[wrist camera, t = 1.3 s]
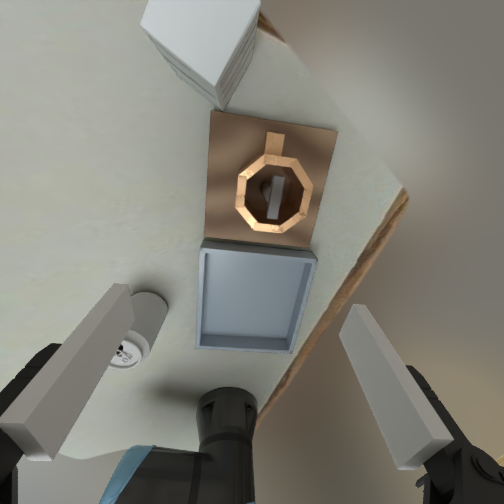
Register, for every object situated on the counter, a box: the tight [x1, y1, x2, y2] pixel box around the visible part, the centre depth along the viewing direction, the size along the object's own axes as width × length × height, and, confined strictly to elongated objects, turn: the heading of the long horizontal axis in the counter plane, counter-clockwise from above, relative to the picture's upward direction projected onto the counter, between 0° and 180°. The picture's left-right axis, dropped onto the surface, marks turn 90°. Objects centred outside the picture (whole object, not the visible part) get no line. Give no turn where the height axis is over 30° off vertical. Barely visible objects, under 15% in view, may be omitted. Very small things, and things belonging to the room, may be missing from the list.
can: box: [108, 292, 168, 370], centre depth 37 cm, size 8×8×12 cm
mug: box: [235, 132, 314, 233], centre depth 30 cm, size 12×9×8 cm
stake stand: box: [204, 110, 338, 248], centre depth 30 cm, size 18×18×11 cm
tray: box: [195, 240, 318, 354], centre depth 42 cm, size 22×20×4 cm
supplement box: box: [140, 0, 261, 111], centre depth 23 cm, size 7×7×13 cm
